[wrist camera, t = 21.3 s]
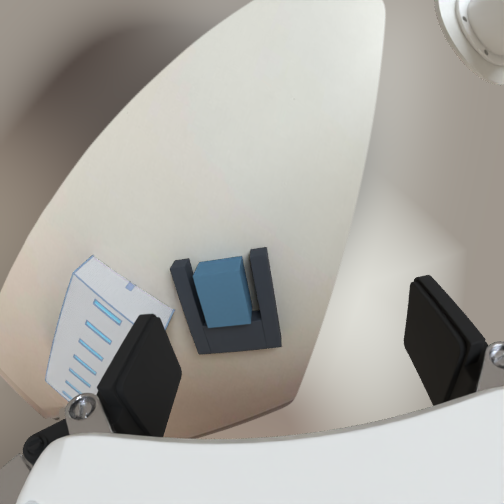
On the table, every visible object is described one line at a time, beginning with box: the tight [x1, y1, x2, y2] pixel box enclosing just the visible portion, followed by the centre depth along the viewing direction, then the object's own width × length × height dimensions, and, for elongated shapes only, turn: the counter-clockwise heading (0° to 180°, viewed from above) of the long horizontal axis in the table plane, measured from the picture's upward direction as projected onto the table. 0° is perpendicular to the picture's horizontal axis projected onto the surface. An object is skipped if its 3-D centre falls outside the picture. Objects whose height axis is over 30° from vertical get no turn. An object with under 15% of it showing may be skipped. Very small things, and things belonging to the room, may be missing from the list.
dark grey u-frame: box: [170, 247, 282, 354], centre depth 40 cm, size 12×14×2 cm
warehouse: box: [45, 255, 175, 401], centre depth 42 cm, size 30×14×8 cm, turn 145°
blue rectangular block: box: [193, 256, 252, 328], centre depth 38 cm, size 6×8×4 cm
